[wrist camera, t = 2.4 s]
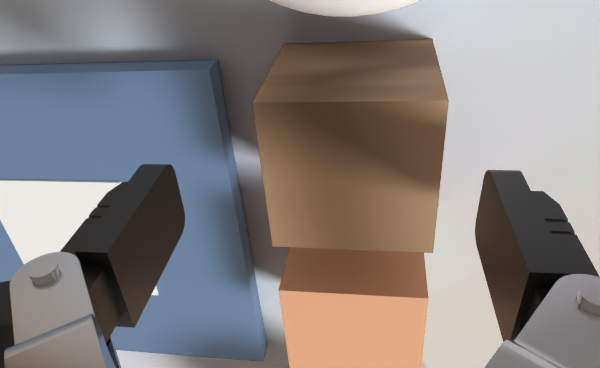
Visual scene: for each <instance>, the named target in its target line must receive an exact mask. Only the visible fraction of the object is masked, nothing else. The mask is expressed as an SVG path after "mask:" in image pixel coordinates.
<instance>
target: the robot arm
mask: <svg viewBox="0 0 600 368" xmlns="http://www.w3.org/2000/svg"><path fill="white" fill-rule="evenodd" d="M184 226H185V212H184V207H183V203H182V199H181V194H180V190H179V186H178V182H177V177H176V173H175V170H174V168H173V166H172V165H170V164H142V165H141V166H140V167H139V168H138V169H137V170H136V172H135V173H134V174H133V176H132V177H131V178H130V180H129V181H128V182H122V183H121V184H119V185H118V186H116V187H115V188H113V189H112V190H110V191H109V192H107V193H106V195H105V196H104V197H103V198H102V200H101V201H100V202H99V203H98V205H97V208H94V210H93V211H92V212H91V213H90V215H89V218H86V220H85V221H84V222H83V223H82V225H81V226H80V227H79V228H78V230H77V231H76V232H75V233H74V235H73V236H72V237H71V238H70V240H69V241H68V242H67V243H66V245H65V246H64V247H63V248H62V249H61V251H60V252H53V253H48V254H45V255H42V256H39V257H37V258H35V259H33V260H31V261H29V262H27V263H26V264H24V265H23V266H22V267H20V268H19V269H18V270H17V271H16V273H15V274H14V275H13V277H12V278H11V280H10V281H5V282H0V368H121V366H120V363H119V359H118V356H117V353H116V350H115V346H114V343H113V341H112V338H111V335H112V333H113V331H114V329H115V327H116V326H117V327H133V328H135V326H136V324H137V322H138V320H139V318H140V316H141V314H142V312H143V310H144V308H145V306H146V304H147V302H148V300H149V298H150V297H151V295H152V293H153V291H154V289H155V287H156V285H157V283H158V281H159V279H160V277H161V275H162V273H163V271H164V269H165V267H166V265H167V263H168V261H169V259H170V257H171V255H172V253H173V251H174V249H175V247H176V245H177V243H178V241H179V239H180V237H181V236H182V233H183V230H184ZM475 236H476V244H477V248H478V252H479V256H480V259H481V263H482V266H483V270H484V274H485V277H486V281H487V284H488V288H489V292H490V295H491V299H492V302H493V306H494V310H495V313H496V317H497V320H498V324H499V328H500V331H501V335H502V338H503V343H502V344H501V346H500V347H499V348H498V350H497V351H496V353H495V354H494V355H493V357H492V358H491V359H490V361H489V362H488V363H487V365H486V366H485V368H600V277H599V275H598V273H597V271H596V270H595V268H594V266H593V264H592V262H591V260H590V259H589V257H588V255H587V253H586V251H585V250H584V248H583V246H582V244H581V242H580V241H579V239H578V237H577V235H575V234H574V230H573V228H572V226H571V224H570V223H569V222H568V219H567V217H566V215H565V214H564V212H563V210H562V208H561V206H560V205H559V204H558V203H557V202H556V201H554V200H553V199H552V198H551V197H549V196H548V195H547V194H546V193H544V192H543V191H531V190H530V188H529V186H528V184H527V182H526V180H525V178H524V176H523V174H522V172H521V171H511V170H487V171H486V173H485V176H484V180H483V185H482V191H481V196H480V202H479V207H478V212H477V218H476V226H475Z"/></svg>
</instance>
